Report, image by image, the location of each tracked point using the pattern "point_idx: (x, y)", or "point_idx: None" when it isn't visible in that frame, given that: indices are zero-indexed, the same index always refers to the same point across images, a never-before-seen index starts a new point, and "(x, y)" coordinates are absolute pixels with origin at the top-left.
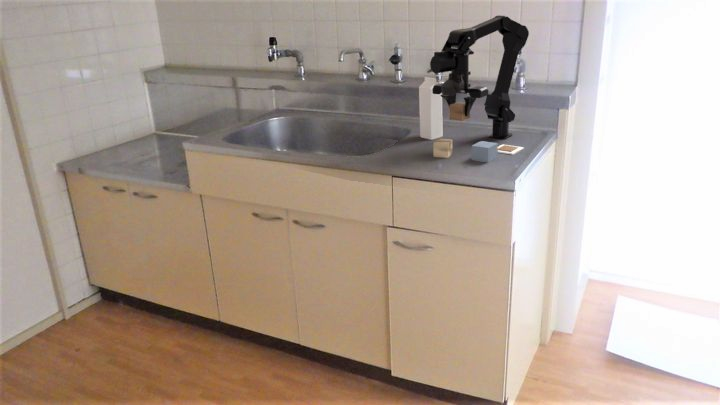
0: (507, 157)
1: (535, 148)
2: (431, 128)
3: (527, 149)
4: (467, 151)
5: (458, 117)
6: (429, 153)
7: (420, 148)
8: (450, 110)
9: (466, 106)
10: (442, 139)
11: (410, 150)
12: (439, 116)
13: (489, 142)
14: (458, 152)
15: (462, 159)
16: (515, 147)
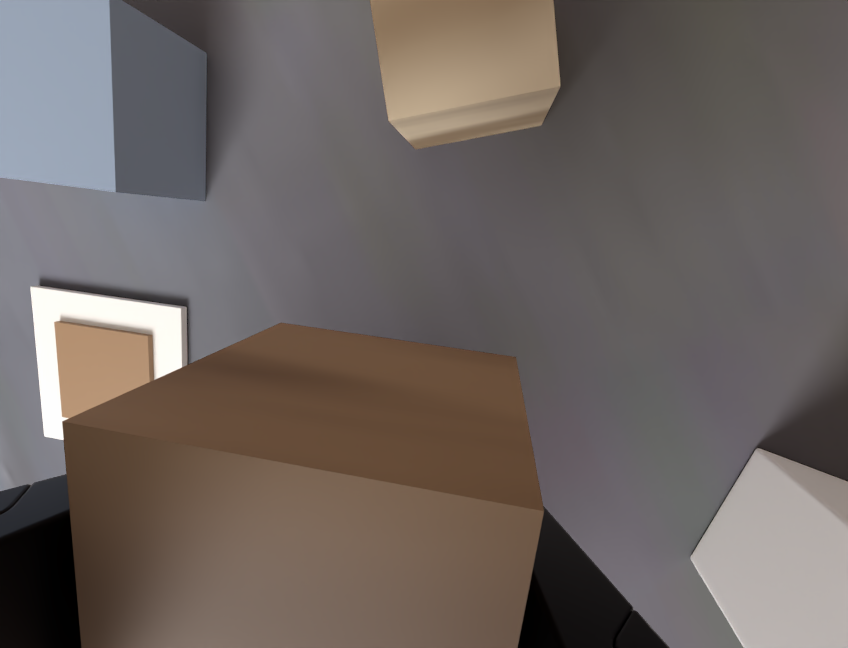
0: (38, 218)
1: (4, 455)
2: (827, 516)
3: (29, 423)
4: (332, 248)
5: (330, 346)
6: (607, 62)
7: (758, 175)
8: (498, 416)
9: (26, 501)
10: (492, 70)
11: (840, 71)
12: None
13: (32, 170)
14: (383, 196)
15: (271, 29)
16: (69, 405)
